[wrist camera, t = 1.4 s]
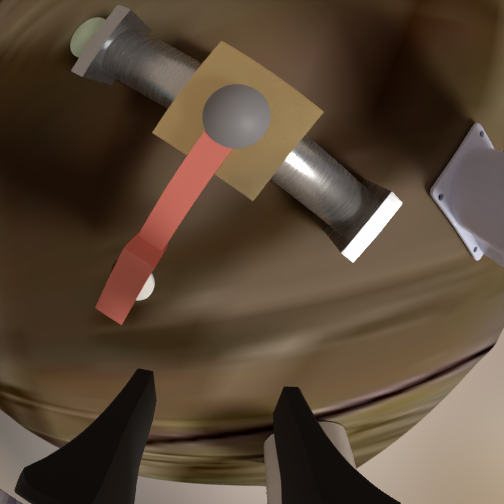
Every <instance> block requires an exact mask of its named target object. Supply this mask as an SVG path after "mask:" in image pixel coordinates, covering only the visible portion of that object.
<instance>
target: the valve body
mask: <svg viewBox="0 0 504 504" xmlns="http://www.w3.org/2000/svg"><path fill="white" fill-rule="evenodd" d="M150 31H151V30H150V28H149V27H148V26H147V25H146V24H145V23H144V22H143V21H142V20H141V19H140V18H139V17H138V16H137V15H136V14H135V13H134V12H133V11H132V10H130V9H128V8H125V7H123V6H120V5H118V6H117V7H116V8H115V9H114V10H113V12H112V13H111V14H110V15H109V17H108V18H107V19H106V20H105V22H104V23H103V24H102V26H101V27H100V28H99V30H98V31H97V32H96V33H95V34H94V36H93V37H92V38H91V40H90V42H89V44H88V45H87V47H86V48H85V50H84V51H83V53H82V54H81V56H80V57H79V59H78V60H77V62H76V64H75V65H74V67H73V69H72V70H71V71H72V72H74V73H76V74H78V75H80V76H81V77H84V78H88V79H92V80H95V81H99V82H102V83H106V84H109V85H112V83H113V82H114V80H115V79H117V80H119V81H120V82H122V83H124V84H126V85H127V86H129V87H131V88H133V89H134V90H136V91H138V92H140V93H141V94H143V95H145V96H146V97H148V98H150V99H151V100H153V101H155V102H156V103H158V104H160V105H161V106H163V107H165V108H166V109H168V110H167V111H166V113H165V114H164V116H163V117H162V118H161V120H160V121H159V123H158V125H157V126H156V128H155V129H154V131H153V132H152V133H153V134H155V135H156V136H158V137H159V138H161V139H163V140H164V141H166V142H167V143H169V144H170V145H172V146H173V147H175V148H176V149H178V150H179V151H181V152H182V153H184V154H185V155H188V154H189V153H190V151H191V150H192V148H193V147H194V145H195V144H196V142H197V141H198V140H199V138H200V137H201V135H202V134H203V133H204V131H205V128H204V125H203V119H202V114H203V109H204V106H205V103H206V101H207V100H208V98H209V97H210V96H211V95H212V94H213V93H214V92H215V91H217V90H218V89H220V88H222V87H224V86H227V85H232V84H242V85H246V86H250V87H252V88H254V89H256V90H257V91H258V92H260V93H261V94H262V95H263V96H264V98H265V99H266V101H267V103H268V105H269V108H270V114H271V117H270V124H269V127H268V129H267V131H266V133H265V134H264V136H263V137H262V138H261V139H260V140H258V141H257V142H256V143H254V144H252V145H250V146H248V147H244V148H233V149H232V150H231V151H230V153H229V154H228V155H227V157H226V158H225V159H224V161H223V162H222V163H221V165H220V166H219V168H218V169H217V170H216V172H215V173H214V174H215V175H216V176H218V177H219V178H221V179H222V180H224V181H225V182H227V183H228V184H229V185H231V186H232V187H234V188H235V189H237V190H238V191H239V192H241V193H242V194H244V195H245V196H247V197H248V198H249V199H251V200H252V201H254V199H255V198H256V197H257V195H258V194H259V193H260V191H261V190H262V189H263V188H264V186H265V185H266V184H267V182H268V181H269V180H272V181H273V182H274V183H276V184H277V185H278V186H280V187H281V188H282V189H284V190H285V191H286V192H288V193H289V194H290V195H292V196H293V197H294V198H296V199H297V200H298V201H299V202H301V203H302V204H303V205H305V206H306V207H307V208H308V209H310V210H311V211H312V212H313V213H315V214H316V215H317V216H318V217H320V218H321V219H322V220H323V221H325V222H326V223H327V224H328V225H327V226H326V228H325V229H324V231H325V233H326V234H327V235H328V237H329V238H330V239H331V240H332V242H333V243H334V244H335V246H336V247H337V248H338V250H339V251H340V252H341V253H342V254H343V255H344V256H345V257H347V258H348V259H349V260H350V261H352V262H354V261H355V260H356V259H357V258H358V257H359V256H360V254H361V253H362V252H363V251H364V250H365V249H366V247H367V246H368V245H369V244H370V243H371V242H372V241H373V240H375V239H376V238H377V237H378V236H379V234H380V233H381V232H382V230H383V229H384V227H385V225H386V223H387V222H388V221H389V220H390V218H391V217H392V216H393V215H394V213H395V212H396V211H397V210H398V208H399V207H400V206H401V205H402V202H401V201H400V200H399V199H398V198H397V197H396V195H395V194H394V193H393V192H392V191H389V190H387V189H385V188H383V187H381V186H379V185H376V184H374V183H372V182H370V181H367V180H364V181H363V182H362V183H360V182H359V181H358V180H357V179H356V178H355V177H354V176H353V175H352V174H351V173H350V172H348V171H347V170H346V169H345V168H344V167H343V166H342V165H341V164H340V163H338V162H337V161H336V160H335V159H334V158H333V157H332V156H330V155H329V154H328V153H327V152H326V151H325V150H323V149H322V148H321V147H320V146H319V145H317V144H316V143H315V142H314V141H313V140H311V139H310V138H309V137H308V136H306V135H305V134H306V133H307V132H308V131H309V130H310V128H311V127H312V126H313V125H314V123H315V122H316V121H317V120H318V118H319V117H320V116H321V115H322V114H323V111H322V110H321V109H319V108H318V107H317V106H316V105H315V104H313V103H312V102H311V101H310V100H308V99H307V98H306V97H304V96H303V95H302V94H301V93H299V92H298V91H297V90H295V89H294V88H293V87H291V86H290V85H289V84H287V83H286V82H284V81H283V80H282V79H280V78H279V77H277V76H276V75H275V74H273V73H272V72H270V71H269V70H267V69H266V68H264V67H263V66H261V65H260V64H258V63H257V62H255V61H254V60H252V59H251V58H249V57H248V56H246V55H244V54H243V53H241V52H240V51H238V50H236V49H235V48H233V47H231V46H230V45H228V44H226V43H224V42H223V41H221V42H220V43H219V44H218V46H217V47H216V48H215V49H214V50H213V51H212V52H211V54H210V55H209V56H208V57H207V58H206V60H205V61H204V62H203V63H201V62H199V61H197V60H195V59H194V58H192V57H190V56H188V55H186V54H185V53H183V52H181V51H179V50H177V49H175V48H174V47H172V46H170V45H168V44H166V43H164V42H162V41H160V40H158V39H156V38H154V37H152V36H150V35H148V34H149V32H150Z"/></svg>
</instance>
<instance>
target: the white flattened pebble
mask: <svg viewBox="0 0 504 504" xmlns="http://www.w3.org/2000/svg"><path fill="white" fill-rule="evenodd" d="M154 286H155V279H154V276H153V274H152V273H151V275H150V276H149V278H148V280H147V281H146V283H145V285H144V287H143V288H142V290H141V292H140V293H139V295H138V297H137V299H136V300H143V299H146V298H147V297H149V296H150V295H151V293H152V291H153V289H154Z"/></svg>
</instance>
